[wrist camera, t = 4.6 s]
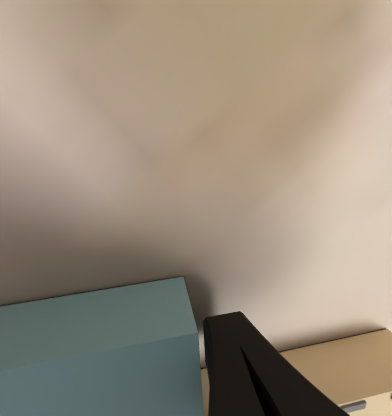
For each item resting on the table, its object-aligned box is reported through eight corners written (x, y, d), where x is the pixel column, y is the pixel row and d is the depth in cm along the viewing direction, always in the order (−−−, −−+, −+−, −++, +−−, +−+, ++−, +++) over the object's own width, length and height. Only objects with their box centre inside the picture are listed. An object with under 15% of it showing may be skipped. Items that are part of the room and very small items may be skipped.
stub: (190, 364, 11) (205, 435, 9) (20, 400, 10) (-13, 491, 8) (183, 276, 9) (198, 335, 7) (-19, 309, 9) (-75, 389, 6)
